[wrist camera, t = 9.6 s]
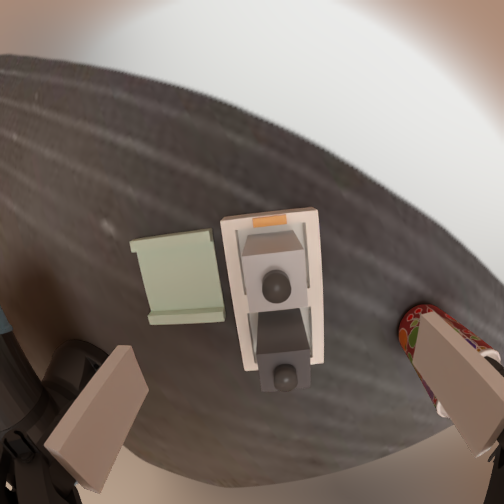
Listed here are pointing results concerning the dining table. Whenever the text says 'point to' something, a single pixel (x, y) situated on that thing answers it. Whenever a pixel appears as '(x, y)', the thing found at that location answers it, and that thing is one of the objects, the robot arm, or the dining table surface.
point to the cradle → (181, 277)
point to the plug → (274, 271)
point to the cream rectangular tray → (278, 321)
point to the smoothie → (410, 333)
